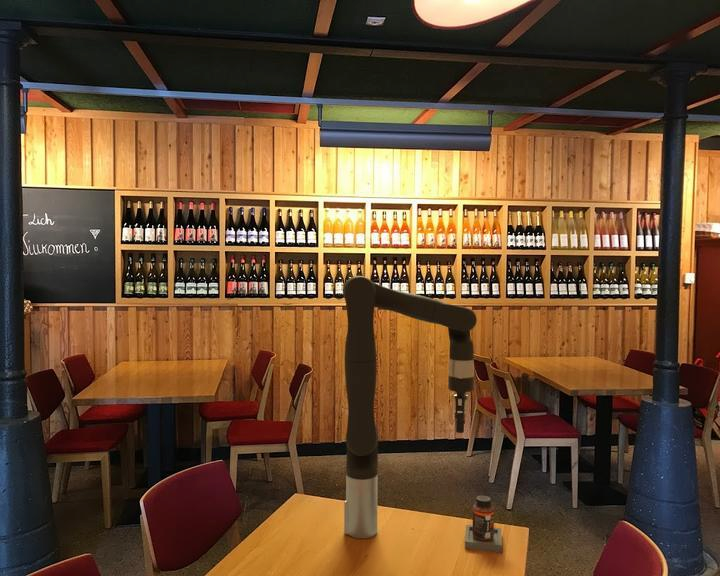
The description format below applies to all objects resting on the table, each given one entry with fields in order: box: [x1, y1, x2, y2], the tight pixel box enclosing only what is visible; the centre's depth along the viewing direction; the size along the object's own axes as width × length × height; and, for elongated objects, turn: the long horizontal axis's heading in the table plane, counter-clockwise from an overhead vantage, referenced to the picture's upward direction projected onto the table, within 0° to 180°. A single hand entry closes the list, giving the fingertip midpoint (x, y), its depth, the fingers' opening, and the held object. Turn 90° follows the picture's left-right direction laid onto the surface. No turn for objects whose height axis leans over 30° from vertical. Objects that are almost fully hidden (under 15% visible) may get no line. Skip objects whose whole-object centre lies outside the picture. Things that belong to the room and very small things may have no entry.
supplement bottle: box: [472, 495, 495, 541], centre depth 157 cm, size 6×6×11 cm
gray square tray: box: [464, 524, 503, 553], centre depth 158 cm, size 10×10×2 cm
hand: (460, 428), depth 165 cm, fingers open, 8 cm apart
